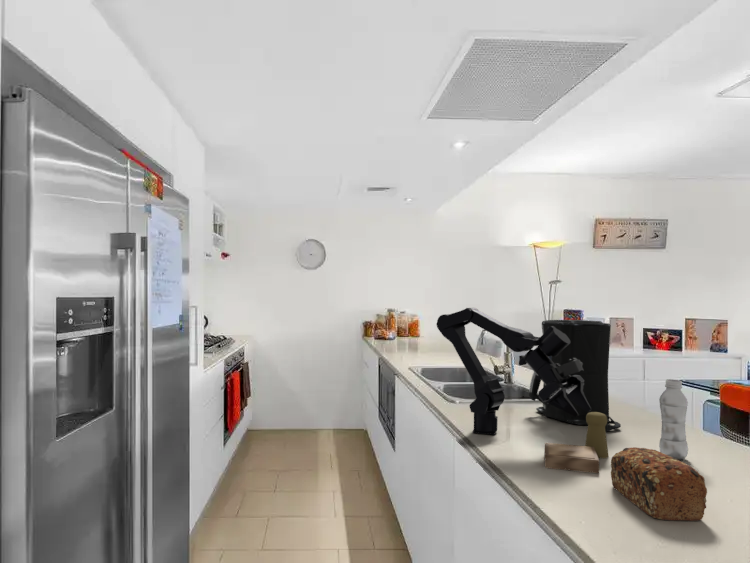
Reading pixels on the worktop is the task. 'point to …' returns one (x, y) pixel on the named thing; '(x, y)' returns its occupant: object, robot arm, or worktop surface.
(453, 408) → the worktop surface
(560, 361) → the coffee maker
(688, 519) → the bread
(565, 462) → the plate
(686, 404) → the plastic bottle
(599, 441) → the cork
